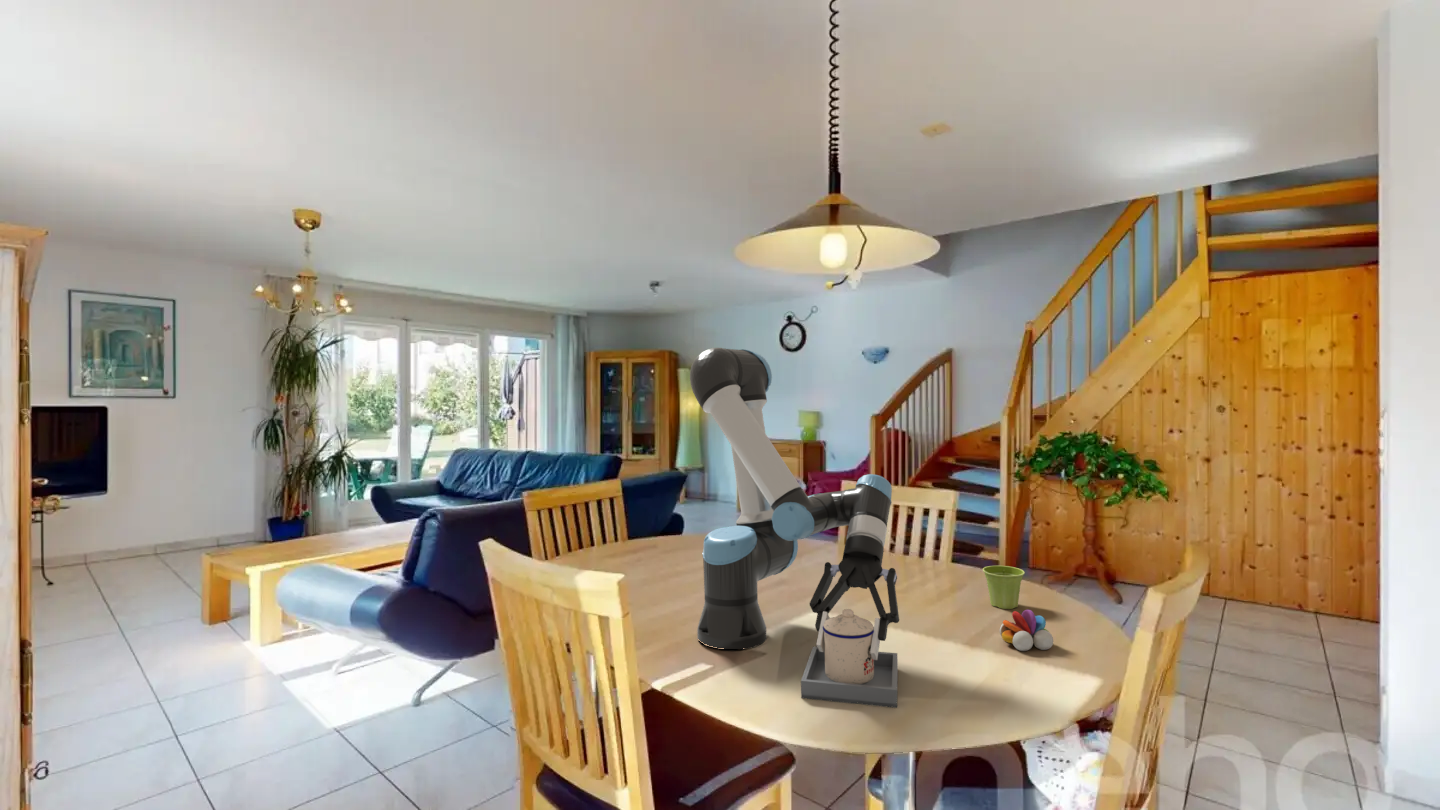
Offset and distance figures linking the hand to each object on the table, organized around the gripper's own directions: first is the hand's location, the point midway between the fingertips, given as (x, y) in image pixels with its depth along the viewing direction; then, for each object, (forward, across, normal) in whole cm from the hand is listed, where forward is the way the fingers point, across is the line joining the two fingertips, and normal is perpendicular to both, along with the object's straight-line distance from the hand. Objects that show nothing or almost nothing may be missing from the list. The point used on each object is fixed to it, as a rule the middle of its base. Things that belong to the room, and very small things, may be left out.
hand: (846, 652), depth 113 cm
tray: (+2, 0, -7) cm, 7 cm away
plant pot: (-38, -24, -48) cm, 65 cm away
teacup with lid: (+1, 0, -6) cm, 6 cm away
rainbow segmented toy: (-19, -28, -30) cm, 45 cm away
